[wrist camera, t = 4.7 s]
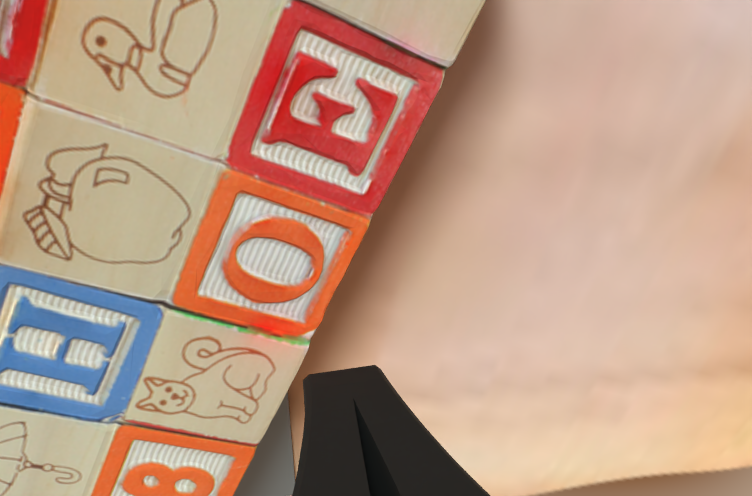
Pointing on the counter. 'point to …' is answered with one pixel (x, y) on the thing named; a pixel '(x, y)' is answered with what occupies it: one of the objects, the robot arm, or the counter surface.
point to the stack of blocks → (186, 218)
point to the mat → (271, 460)
